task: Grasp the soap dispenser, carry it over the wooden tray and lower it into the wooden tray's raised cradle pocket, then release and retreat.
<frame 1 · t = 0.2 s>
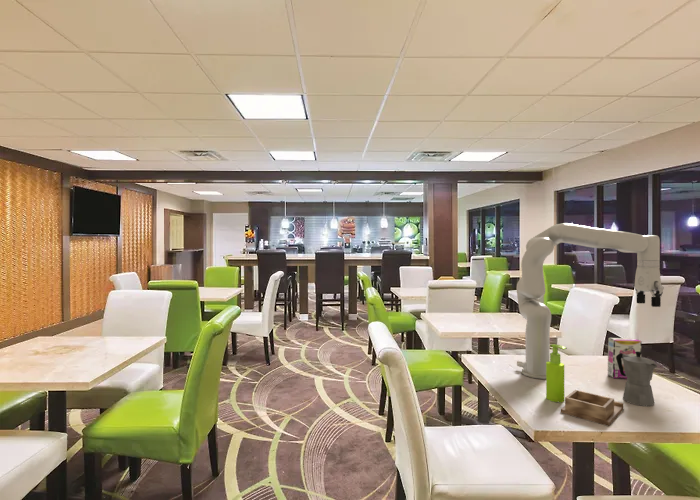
hand: (648, 304, 166), 31 cm above the table, tool pointing down, fingers open, 9 cm apart
coffeepot: (635, 400, 142), on the table
candy bar box: (624, 377, 167), on the table
soap dispenser: (556, 400, 143), on the table
wooden tray: (592, 411, 133), on the table
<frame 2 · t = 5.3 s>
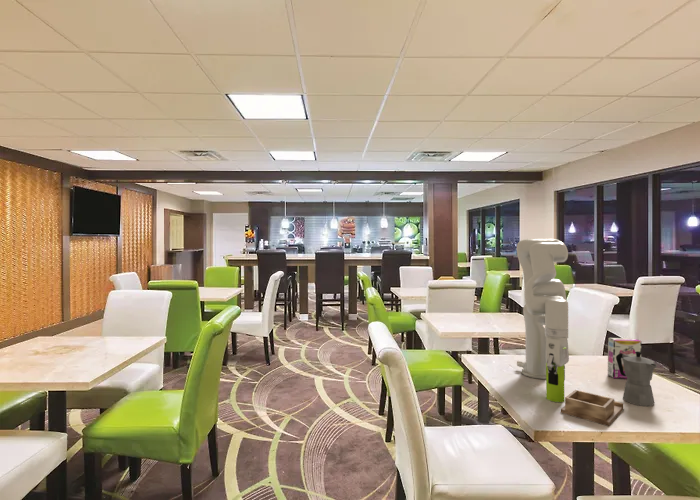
hand: (556, 381, 143), 7 cm above the table, tool pointing down, fingers closed on soap dispenser, 5 cm apart
soap dispenser: (556, 400, 143), on the table, touching gripper
everything else where it was.
when the fingers open (9 cm above the table, at t = 10.7 s): soap dispenser drops 1 cm, resting on wooden tray.
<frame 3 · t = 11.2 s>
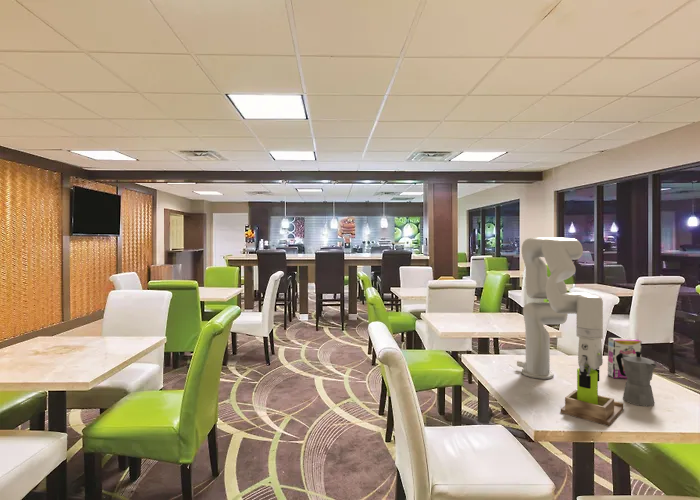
hand: (589, 383, 131), 10 cm above the table, tool pointing down, fingers open, 9 cm apart
soap dispenser: (588, 410, 131), point 1 cm above the table, touching wooden tray
everything else where it was.
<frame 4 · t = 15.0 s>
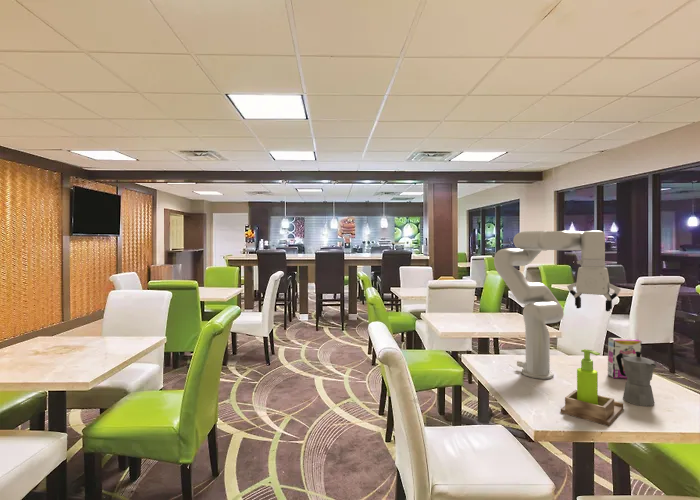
hand: (593, 309, 147), 32 cm above the table, tool pointing down, fingers open, 9 cm apart
nothing on the table moved.
at the end: soap dispenser 0.3 cm from the target spot on the wooden tray, point 1.0 cm above the wooden tray's base; soap dispenser tilted 0°; the gripper is holding nothing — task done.
